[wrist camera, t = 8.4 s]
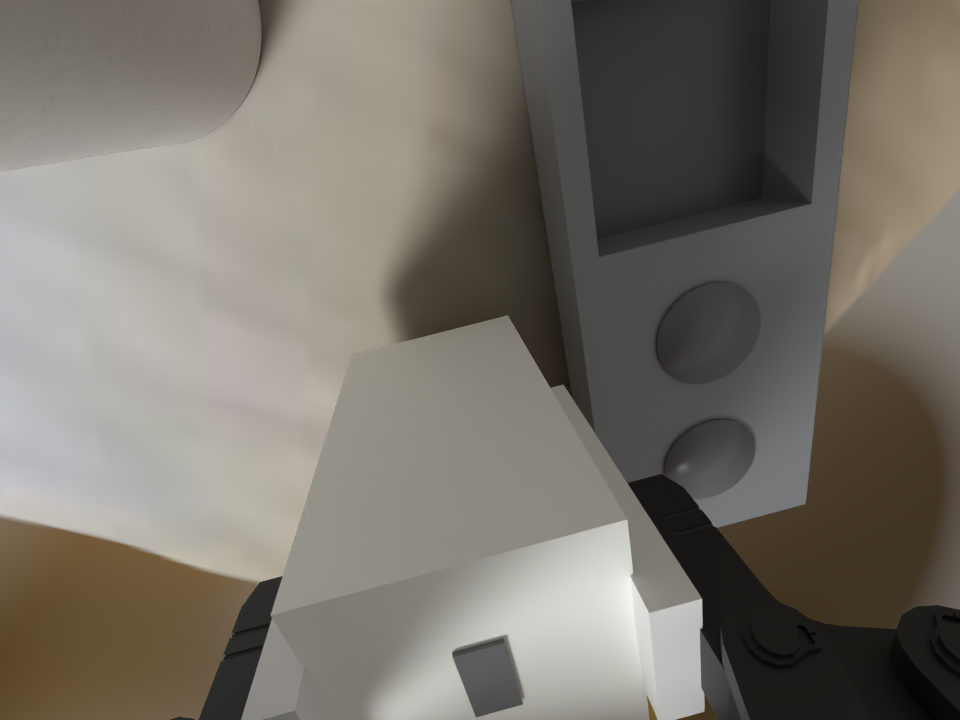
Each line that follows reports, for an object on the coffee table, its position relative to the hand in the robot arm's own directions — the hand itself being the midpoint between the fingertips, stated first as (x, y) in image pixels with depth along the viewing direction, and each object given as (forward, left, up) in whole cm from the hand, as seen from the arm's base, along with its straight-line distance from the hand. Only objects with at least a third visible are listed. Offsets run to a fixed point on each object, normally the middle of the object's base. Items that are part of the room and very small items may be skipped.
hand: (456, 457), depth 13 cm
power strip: (-3, +8, -5) cm, 10 cm away
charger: (0, 0, -3) cm, 3 cm away
